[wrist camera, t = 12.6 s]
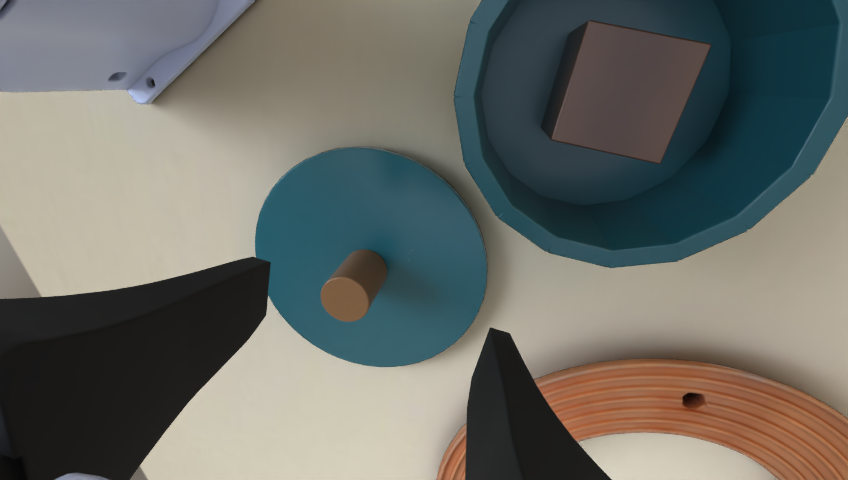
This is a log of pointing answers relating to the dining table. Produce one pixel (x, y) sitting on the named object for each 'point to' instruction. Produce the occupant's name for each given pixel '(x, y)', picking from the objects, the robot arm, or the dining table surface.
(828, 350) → the dining table surface
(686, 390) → the ring
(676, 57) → the block
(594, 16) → the tin
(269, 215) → the lid
